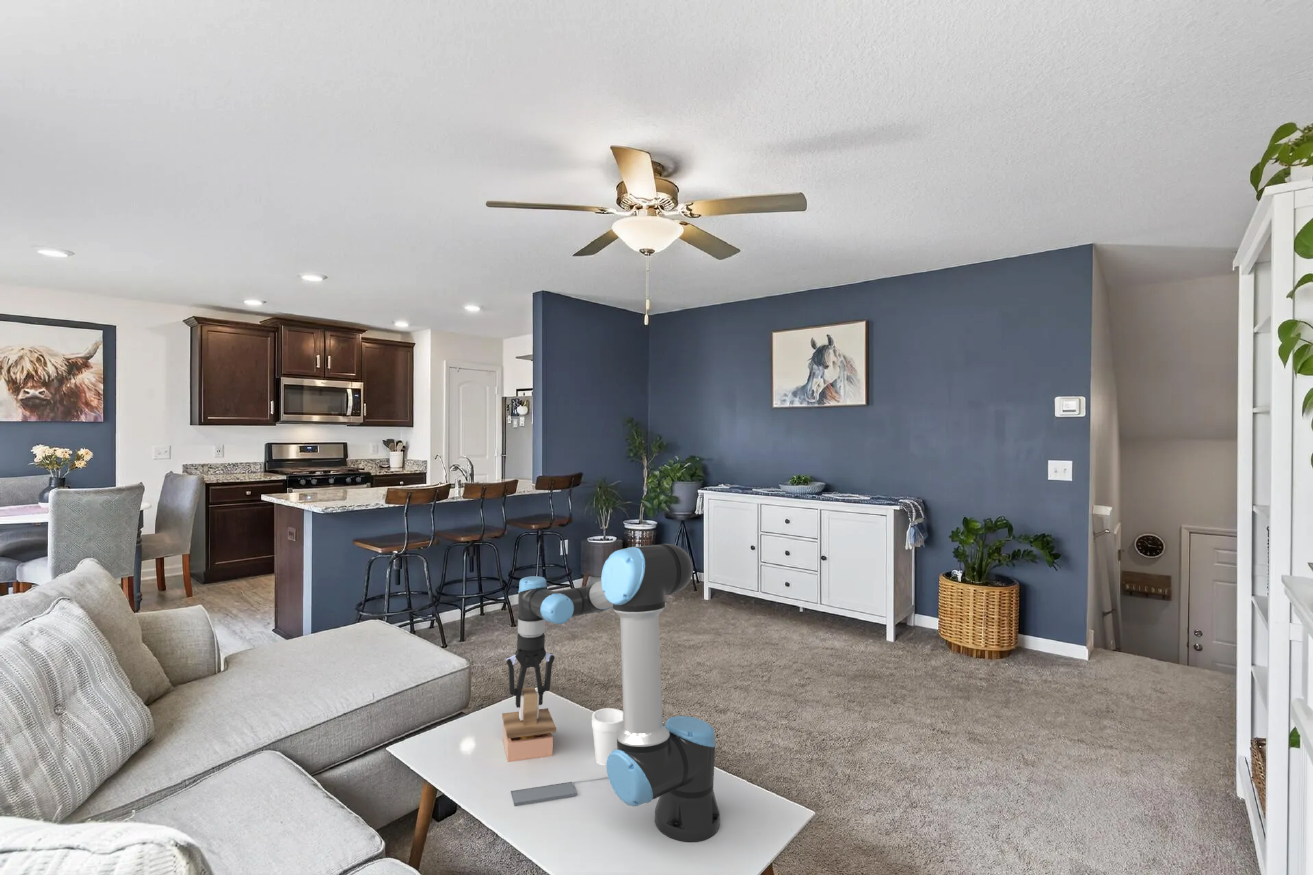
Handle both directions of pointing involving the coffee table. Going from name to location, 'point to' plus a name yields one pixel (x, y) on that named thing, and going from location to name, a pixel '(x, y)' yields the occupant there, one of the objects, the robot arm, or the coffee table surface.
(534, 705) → the lid
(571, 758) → the coffee table surface
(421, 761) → the coffee table surface
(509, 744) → the pink open box
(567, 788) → the mat
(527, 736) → the clementine
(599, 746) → the foam cup
